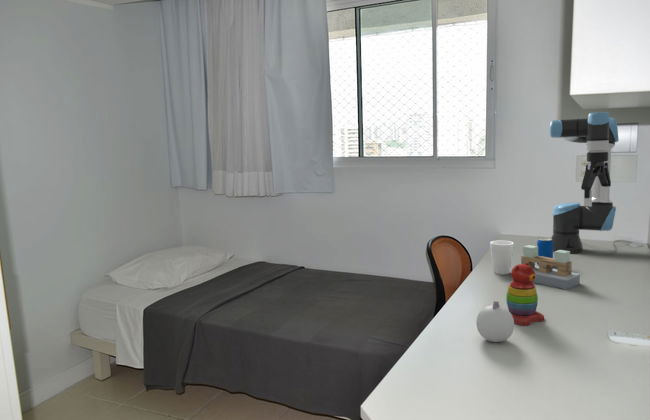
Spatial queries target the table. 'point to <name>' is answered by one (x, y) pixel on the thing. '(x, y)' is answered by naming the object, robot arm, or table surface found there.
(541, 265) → the tan wooden bar
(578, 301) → the table surface
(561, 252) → the block
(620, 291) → the table surface
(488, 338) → the ornament
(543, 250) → the beverage can
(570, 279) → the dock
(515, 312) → the stacking bear
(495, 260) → the foam cup
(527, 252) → the block
